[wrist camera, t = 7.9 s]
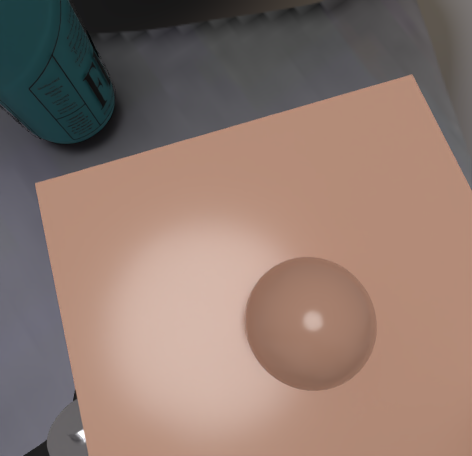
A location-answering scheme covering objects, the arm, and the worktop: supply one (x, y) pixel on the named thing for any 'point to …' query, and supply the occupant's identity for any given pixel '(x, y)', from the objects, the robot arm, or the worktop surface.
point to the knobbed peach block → (273, 287)
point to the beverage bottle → (52, 71)
